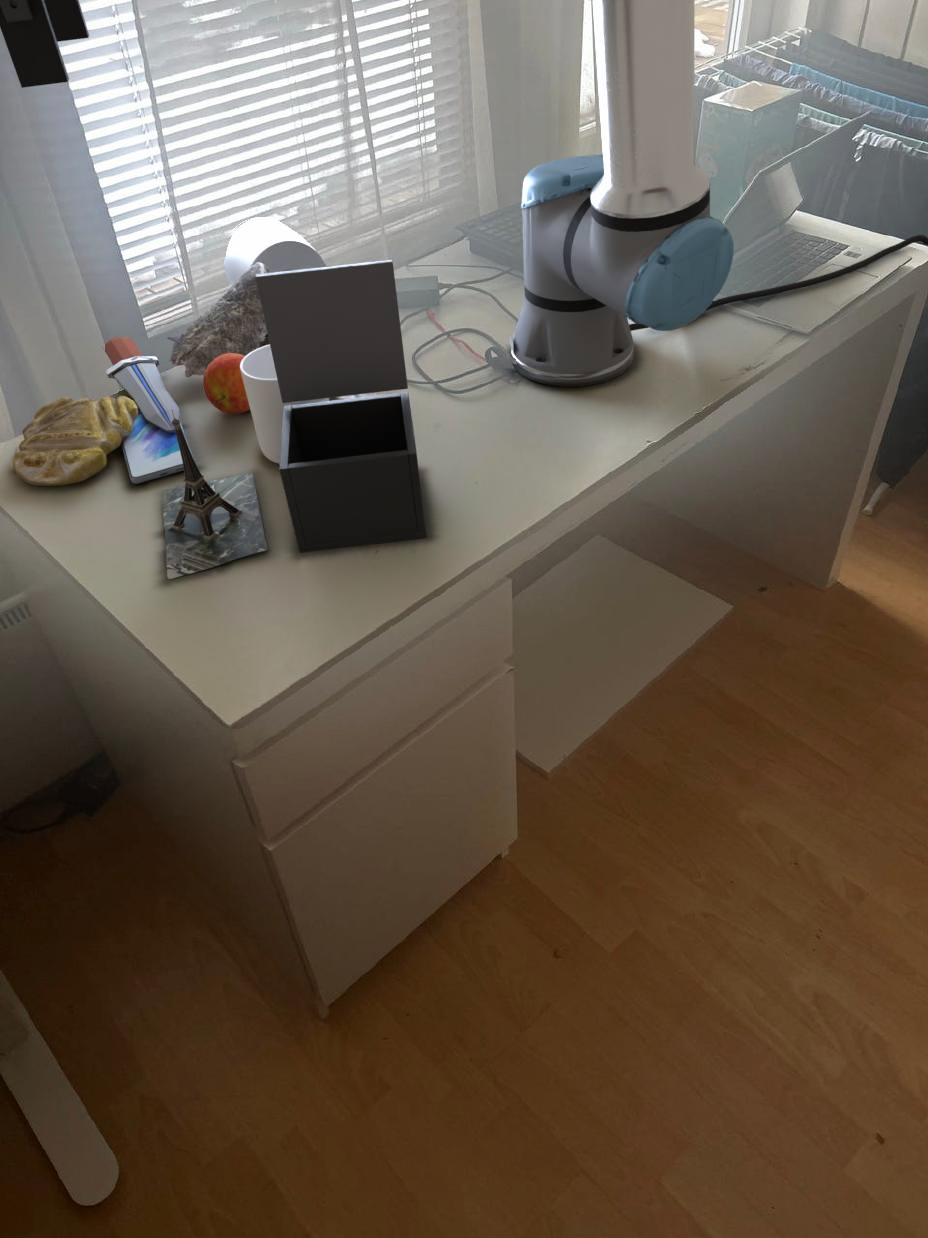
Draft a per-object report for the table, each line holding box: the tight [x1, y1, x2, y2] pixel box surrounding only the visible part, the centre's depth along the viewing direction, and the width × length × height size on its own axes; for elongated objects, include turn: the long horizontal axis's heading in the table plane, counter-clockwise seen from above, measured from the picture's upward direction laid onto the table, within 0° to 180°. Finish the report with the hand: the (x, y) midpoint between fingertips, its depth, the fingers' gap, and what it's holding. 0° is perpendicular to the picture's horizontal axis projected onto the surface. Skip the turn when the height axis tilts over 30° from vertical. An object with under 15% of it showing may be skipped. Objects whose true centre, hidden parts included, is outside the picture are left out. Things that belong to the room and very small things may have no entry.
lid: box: [256, 259, 409, 403], centre depth 87 cm, size 12×13×1 cm
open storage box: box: [278, 391, 427, 554], centre depth 90 cm, size 12×13×10 cm
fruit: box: [202, 353, 251, 415], centre depth 108 cm, size 7×7×8 cm
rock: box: [168, 262, 269, 378], centre depth 116 cm, size 19×7×10 cm
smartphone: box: [120, 410, 195, 485], centre depth 105 cm, size 7×1×15 cm
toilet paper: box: [224, 216, 328, 288], centre depth 126 cm, size 12×12×12 cm
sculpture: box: [12, 395, 139, 487], centre depth 104 cm, size 13×4×15 cm
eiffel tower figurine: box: [161, 411, 268, 581], centre depth 89 cm, size 15×10×13 cm
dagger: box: [102, 336, 181, 433], centre depth 115 cm, size 7×2×30 cm
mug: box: [240, 345, 359, 465], centre depth 100 cm, size 9×12×11 cm
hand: (58, 60), depth 60 cm, fingers open, 13 cm apart
